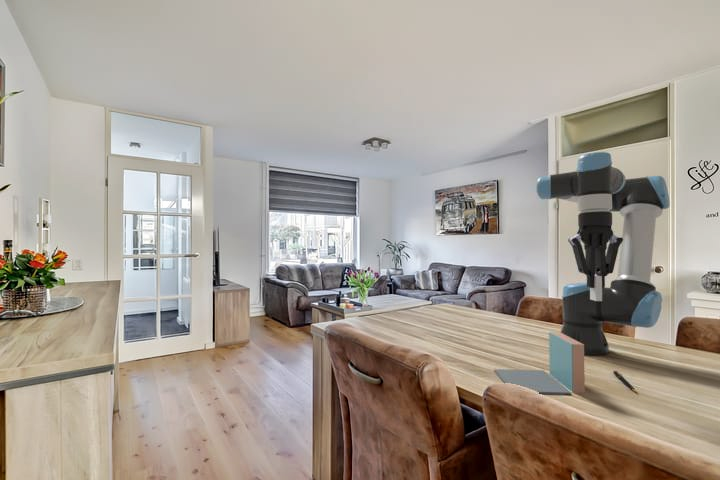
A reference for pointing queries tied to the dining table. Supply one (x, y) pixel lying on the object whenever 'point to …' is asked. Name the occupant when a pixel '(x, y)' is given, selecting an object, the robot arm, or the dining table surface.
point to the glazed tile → (567, 361)
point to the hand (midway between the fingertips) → (596, 300)
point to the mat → (532, 380)
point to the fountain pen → (623, 380)
